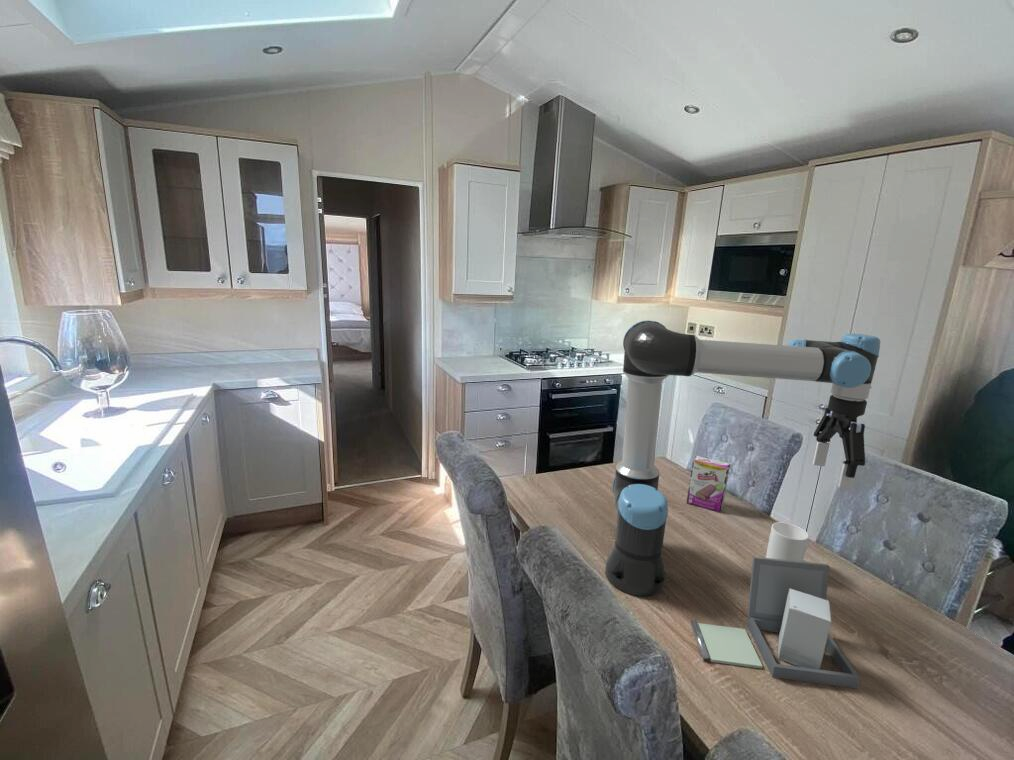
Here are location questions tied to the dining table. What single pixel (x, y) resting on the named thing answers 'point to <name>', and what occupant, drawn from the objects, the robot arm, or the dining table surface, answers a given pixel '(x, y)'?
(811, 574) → the lid
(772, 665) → the grey square frame
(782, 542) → the mug
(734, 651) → the mat
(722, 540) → the dining table surface
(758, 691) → the dining table surface
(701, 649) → the rod
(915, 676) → the dining table surface
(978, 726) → the dining table surface
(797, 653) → the supplement box
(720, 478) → the candy bar box
